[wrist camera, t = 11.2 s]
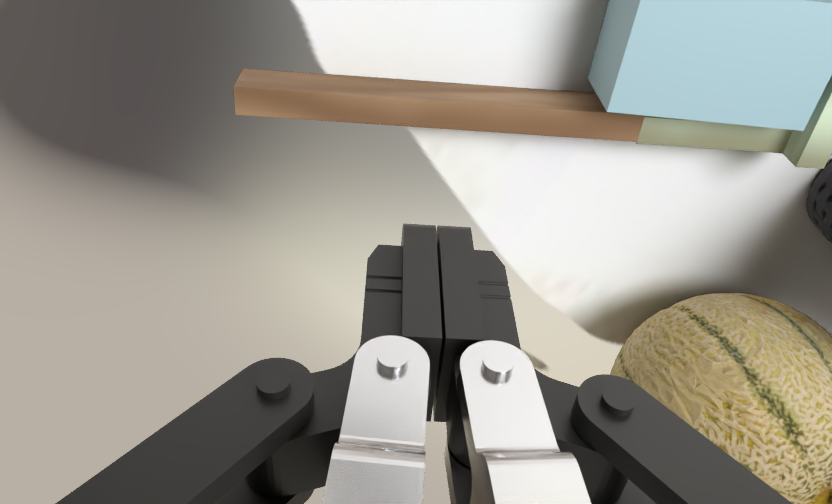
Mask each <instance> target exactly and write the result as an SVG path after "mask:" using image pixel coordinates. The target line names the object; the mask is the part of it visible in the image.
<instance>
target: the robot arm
mask: <svg viewBox="0 0 832 504" xmlns="http://www.w3.org/2000/svg"><path fill="white" fill-rule="evenodd" d="M432 408H433V411H434V421H438V422H446V425H447V442H446V448H445V453H444V455H445V465H446V472H447V479H448V486H449V494H450V501H451V504H793V503H791V502H790V501H789V500H787V499H786V498H785V497H783V496H782V495H781V494H779V493H778V492H777V491H776V490H774V489H773V488H772V487H770V486H769V485H768V484H766V483H765V482H764V481H762V480H761V479H760V478H759V477H757V476H756V475H755V474H753V473H752V472H751V471H749V470H748V469H747V468H745V467H744V466H743V465H742V464H740V463H739V462H738V461H736V460H735V459H734V458H732V457H731V456H730V455H728V454H727V453H726V452H725V451H723V450H722V449H721V448H719V447H718V446H717V445H715V444H714V443H713V442H711V441H710V440H709V439H708V438H706V437H705V436H704V435H702V434H701V433H700V432H698V431H697V430H696V429H694V428H693V427H692V426H691V425H689V424H688V423H687V422H685V421H684V420H683V419H681V418H680V417H679V416H677V415H676V414H675V413H674V412H672V411H671V410H670V409H668V408H667V407H666V406H664V405H663V404H662V403H660V402H659V401H658V400H657V399H655V398H654V397H653V396H651V395H650V394H649V393H647V392H646V391H645V390H643V389H642V388H641V387H639V386H638V385H636V384H635V383H633V382H631V381H629V380H627V379H625V378H622V377H619V376H615V375H596V376H593V377H590V378H588V379H587V380H585V381H584V382H583V383H582V384H581V386H580V387H577V386H573V385H570V384H567V383H564V382H560V381H557V380H554V379H552V378H549V377H547V376H545V375H543V374H542V373H540V372H538V371H537V370H536V369H535V368H534V367H533V364H532V362H531V360H530V359H529V357H528V356H527V355H526V354H525V353H524V352H522V351H521V348H520V343H519V338H518V334H517V328H516V322H515V317H514V312H513V307H512V302H511V299H510V291H509V287H508V281H507V276H506V270H505V266H504V265H503V264H502V262H501V261H500V260H499V259H498V257H497V256H496V255H495V253H494V252H493V251H481V250H474V248H473V241H472V234H471V228H469V227H453V226H438V227H437V231H436V226H434V225H417V224H403V230H402V242H401V246H391V245H378V246H377V248H376V249H375V250H374V251H373V253H372V254H371V255H370V257H369V258H368V262H367V276H366V286H365V299H364V311H363V323H362V336H361V343H360V346H359V349H358V350H357V352H356V353H355V354H354V355H353V357H352V358H351V359H349V360H348V361H347V362H345V363H343V364H342V365H340V366H337V367H335V368H332V369H329V370H324V371H320V372H315V373H310V372H309V370H308V369H307V368H306V367H304V366H303V365H302V364H300V363H298V362H296V361H294V360H290V359H285V358H269V359H264V360H261V361H258V362H256V363H253V364H252V365H250V366H248V367H247V368H245V369H244V370H242V371H241V372H240V373H238V374H237V375H235V376H234V377H233V378H231V379H230V380H228V381H227V382H226V383H224V384H223V385H221V386H220V387H218V388H217V389H216V390H214V391H213V392H212V393H210V394H209V395H207V396H206V397H205V398H203V399H202V400H200V401H199V402H198V403H196V404H195V405H193V406H192V407H190V408H189V409H188V410H186V411H185V412H183V413H182V414H181V415H179V416H178V417H177V418H175V419H174V420H172V421H171V422H169V423H168V424H167V425H165V426H164V427H163V428H161V429H160V430H158V431H157V432H155V433H154V434H153V435H151V436H150V437H148V438H147V439H146V440H144V441H143V442H141V443H140V444H139V445H137V446H136V447H134V448H133V449H132V450H130V451H129V452H127V453H126V454H125V455H123V456H122V457H120V458H119V459H118V460H116V461H115V462H113V463H112V464H111V465H110V466H108V467H106V468H105V469H104V470H102V471H101V472H99V473H98V474H97V475H95V476H94V477H92V478H91V479H90V480H88V481H87V482H85V483H84V484H83V485H81V486H80V487H79V488H77V489H76V490H74V491H73V492H71V493H70V494H69V495H67V496H66V497H64V498H63V499H62V500H60V501H59V502H57V503H56V504H304V503H305V502H306V501H307V500H308V499H309V497H310V496H311V494H312V493H313V491H314V489H316V488H320V487H323V486H325V490H324V495H323V500H322V504H423V489H424V473H425V451H424V447H425V431H426V421H431V415H432Z"/></svg>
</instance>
